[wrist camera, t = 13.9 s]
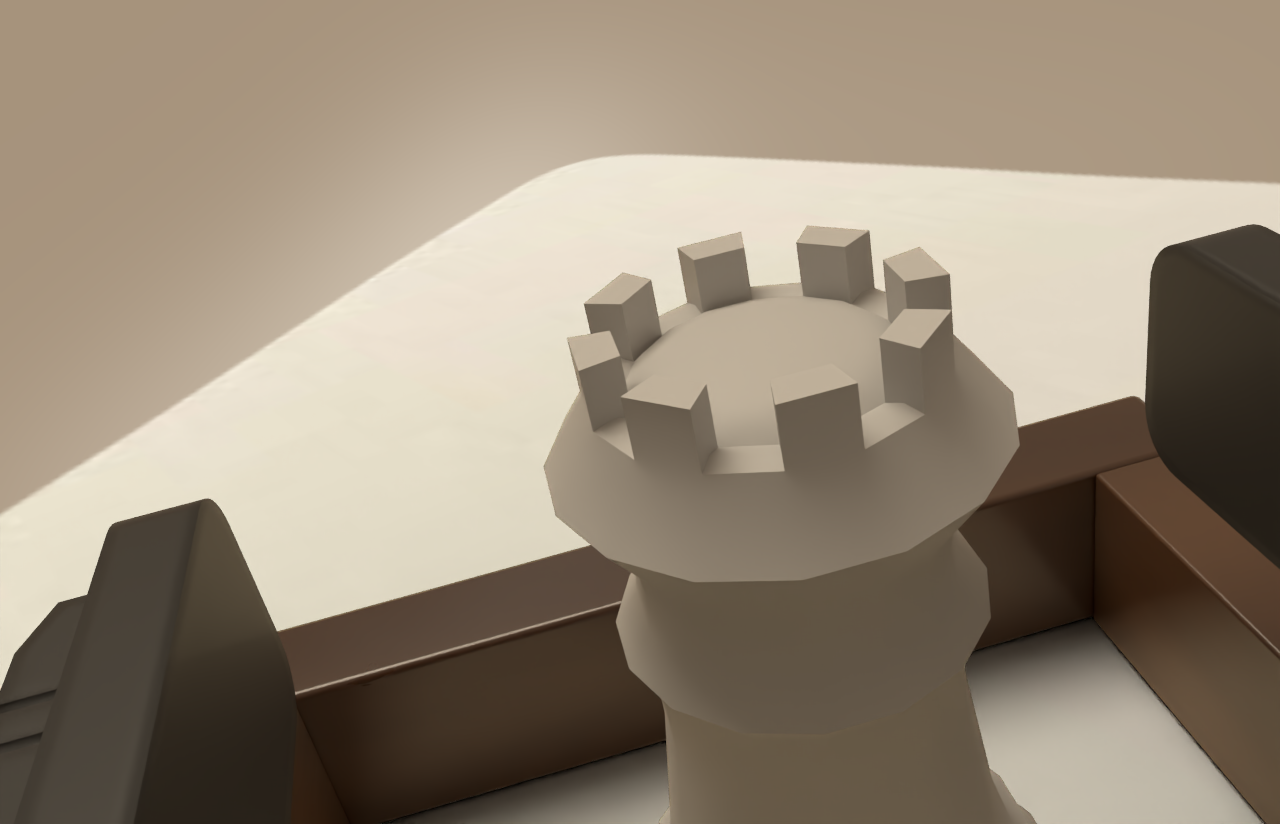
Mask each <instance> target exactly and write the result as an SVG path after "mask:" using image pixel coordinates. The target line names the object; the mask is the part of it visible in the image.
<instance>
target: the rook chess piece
mask: <svg viewBox="0 0 1280 824" xmlns="http://www.w3.org/2000/svg"><path fill="white" fill-rule="evenodd" d="M796 244H797V252H798V260H799V267H800V275H801V283H791V284H779V285H766V286H754V287H750V284H749V277H748V270H747V264H746V257H745V250H744V245H743V240H742V234H741V232H738V233H735V234H731V235H727V236H723V237H719V238H715V239H711V240H707V241H703V242H699V243H695V244H691V245H687V246H683V247H679V248H678V254H679V259H680V265H681V270H682V276H683V281H684V287H685V292H686V298H687V303H686V304H684V305H682V306H680V307H678V308H676V309H673V310H671V311H669V312H667V313H665V314H663V315H661V316H659V317H658V313H657V308H656V303H655V298H654V292H653V287H652V282H651V280H650V279H646V278H642V277H638V276H634V275H630V274H626V273H622V274H621V275H619V276H618V277H617V278H616V279H614V280H613V281H612V282H610V283H609V284H608V285H607V286H605V287H604V288H603V289H602V290H600V291H599V292H598V293H597V294H595V295H594V296H593V297H592V298H590V299H589V300H588V301H587V302H585V303H584V306H585V310H586V315H587V319H588V323H589V328H590V332H591V334H587V335H581V336H575V337H569V338H567V340H568V344H569V348H570V352H571V356H572V360H573V364H574V368H575V372H576V377H577V381H578V385H579V389H580V392H579V394H578V395H577V397H576V399H575V401H574V403H573V404H572V406H571V408H570V410H569V412H568V413H567V415H566V417H565V419H564V421H563V424H562V426H561V428H560V430H559V433H558V435H557V437H556V440H555V442H554V444H553V446H552V449H551V451H550V453H549V455H548V458H547V460H546V462H545V464H544V470H545V474H546V478H547V482H548V486H549V490H550V494H551V498H552V502H553V506H554V510H555V515H556V517H558V518H559V519H560V520H561V521H563V522H564V523H565V524H566V525H567V526H569V527H570V528H571V529H572V530H573V531H575V532H576V533H577V534H578V535H580V536H581V537H582V538H583V539H584V540H586V541H587V542H588V543H589V544H591V545H592V546H593V547H594V548H595V549H597V550H598V551H599V552H600V553H601V554H603V555H604V556H605V557H606V558H608V559H609V560H611V561H613V562H614V563H616V564H618V565H619V566H621V567H623V568H624V569H626V570H628V571H629V572H631V574H630V576H629V579H628V582H627V586H626V589H625V592H624V596H623V599H622V602H621V606H620V609H619V612H618V616H617V619H616V624H617V628H618V631H619V635H620V638H621V642H622V645H623V649H624V652H625V656H626V659H627V663H628V666H629V669H630V670H631V671H632V672H633V673H634V674H635V675H636V676H637V677H638V678H640V679H641V680H642V681H643V682H644V683H645V684H646V685H647V686H648V687H649V688H650V689H651V690H652V691H654V692H655V693H656V694H657V695H658V696H659V697H660V698H661V699H662V703H663V708H664V712H665V727H666V746H667V765H668V784H669V802H670V806H669V808H668V809H667V810H666V812H665V813H664V815H663V816H662V817H661V819H660V821H659V824H1037V823H1036V822H1035V820H1034V818H1033V817H1032V815H1031V814H1030V813H1029V812H1028V811H1026V810H1025V809H1024V808H1022V807H1021V806H1020V805H1018V804H1017V803H1016V802H1015V800H1014V798H1013V797H1012V795H1011V793H1010V792H1009V790H1008V789H1007V787H1006V785H1005V784H1004V782H1003V780H1002V779H1001V777H1000V776H999V775H998V774H996V773H995V772H993V771H992V770H991V769H989V765H988V761H987V757H986V753H985V749H984V745H983V741H982V737H981V733H980V729H979V725H978V721H977V717H976V713H975V709H974V705H973V701H972V697H971V693H970V689H969V685H968V681H967V677H966V673H965V664H966V662H967V660H968V659H969V657H970V655H971V653H972V651H973V649H974V648H975V646H976V644H977V642H978V640H979V639H980V637H981V635H982V633H983V631H984V630H985V628H986V626H987V624H988V622H989V621H990V619H991V613H990V600H989V588H988V575H987V567H986V566H985V565H984V563H983V562H982V561H981V559H980V558H979V557H978V556H977V554H976V553H975V552H974V550H973V549H972V548H971V546H970V545H969V544H968V542H967V541H966V540H965V538H964V537H963V536H962V534H961V533H960V532H959V530H958V529H959V528H960V527H961V526H962V524H963V523H964V522H965V521H966V520H967V519H968V518H969V517H970V516H971V515H972V514H973V513H974V512H975V511H976V510H977V509H978V508H979V507H980V506H981V505H982V504H983V503H984V502H985V500H986V498H987V497H988V495H989V494H990V492H991V490H992V489H993V487H994V486H995V484H996V482H997V481H998V479H999V478H1000V476H1001V474H1002V473H1003V471H1004V470H1005V468H1006V466H1007V465H1008V463H1009V462H1010V460H1011V458H1012V457H1013V455H1014V453H1015V452H1016V450H1017V449H1018V447H1019V445H1020V443H1019V435H1018V428H1017V420H1016V412H1015V405H1014V397H1013V392H1012V391H1011V390H1010V389H1009V388H1008V387H1007V386H1006V385H1005V384H1004V383H1003V382H1002V381H1001V380H1000V379H999V378H998V377H997V376H996V375H995V374H994V373H993V372H992V371H991V370H990V369H989V368H988V367H987V366H986V365H985V364H984V363H983V362H982V361H981V360H980V359H979V358H978V357H977V356H976V355H975V354H974V353H973V352H972V351H971V350H970V349H968V348H967V347H966V346H965V345H964V344H963V343H962V342H961V341H960V340H959V339H958V338H957V337H956V336H955V335H954V334H953V323H952V305H951V287H950V274H949V273H948V272H947V271H946V270H945V269H944V268H942V267H941V266H940V265H939V264H938V263H937V262H936V261H935V260H934V259H932V258H931V257H930V256H929V255H928V254H927V253H926V252H925V251H924V250H922V249H921V248H920V247H918V248H915V249H912V250H910V251H907V252H904V253H901V254H899V255H896V256H893V257H890V258H888V259H885V260H883V265H884V277H885V288H886V292H884V291H881V290H878V289H876V288H874V277H873V266H872V256H871V245H870V234H869V230H856V229H843V228H831V227H818V226H807V227H806V228H805V230H804V231H803V233H802V235H801V236H800V238H799V239H798V241H797V242H796Z"/></svg>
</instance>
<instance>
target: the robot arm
mask: <svg viewBox="0 0 1280 824" xmlns="http://www.w3.org/2000/svg"><path fill="white" fill-rule="evenodd" d="M1145 412H1146V420H1147V425H1148V429H1149V433H1150V436H1151V439H1152V441H1153V444H1154V446H1155V449H1156V451H1157V453H1158V455H1159V456H1160V458H1161V460H1162V461H1163V463H1164V464H1165V466H1166V467H1167V468H1168V470H1169V471H1170V472H1171V473H1172V474H1173V475H1174V476H1175V477H1176V478H1177V479H1178V480H1180V481H1181V482H1182V483H1183V484H1184V485H1185V486H1186V487H1187V488H1189V489H1190V490H1191V491H1192V492H1193V493H1194V494H1195V495H1196V496H1198V497H1199V498H1200V499H1201V500H1202V501H1203V502H1204V503H1205V504H1207V505H1208V506H1209V507H1210V508H1211V509H1212V510H1213V511H1214V512H1216V513H1217V514H1218V515H1219V516H1220V517H1221V518H1222V519H1223V520H1225V521H1226V522H1227V523H1228V524H1229V525H1230V526H1231V527H1232V528H1234V529H1235V530H1236V531H1237V532H1238V533H1239V534H1240V535H1241V536H1243V537H1244V538H1245V539H1246V540H1247V541H1248V542H1249V543H1250V544H1252V545H1253V546H1254V547H1255V548H1256V549H1257V550H1258V551H1259V552H1261V553H1262V554H1263V555H1264V556H1265V557H1266V558H1267V559H1268V560H1270V561H1271V562H1272V563H1273V564H1274V565H1275V566H1276V567H1277V568H1279V569H1280V234H1278V233H1276V232H1274V231H1272V230H1270V229H1268V228H1266V227H1263V226H1261V225H1254V224H1253V225H1246V226H1242V227H1238V228H1235V229H1231V230H1227V231H1223V232H1220V233H1216V234H1212V235H1208V236H1205V237H1201V238H1197V239H1193V240H1189V241H1186V242H1182V243H1178V244H1174V245H1171V246H1168V247H1166V248H1164V249H1163V250H1162V251H1161V252H1160V253H1159V254H1158V256H1157V257H1156V259H1155V261H1154V264H1153V267H1152V271H1151V278H1150V297H1149V321H1148V345H1147V370H1146V394H1145ZM296 726H297V705H296V696H295V689H294V684H293V679H292V674H291V670H290V666H289V662H288V659H287V656H286V653H285V650H284V647H283V645H282V642H281V640H280V637H279V635H278V633H277V631H276V628H275V626H274V624H273V622H272V619H271V617H270V615H269V613H268V610H267V608H266V606H265V604H264V602H263V599H262V597H261V595H260V593H259V590H258V588H257V586H256V584H255V581H254V579H253V577H252V575H251V572H250V570H249V568H248V566H247V563H246V561H245V559H244V557H243V555H242V552H241V550H240V548H239V546H238V543H237V541H236V539H235V537H234V534H233V532H232V530H231V528H230V525H229V523H228V521H227V519H226V517H225V516H224V514H223V512H222V510H221V509H220V508H219V506H218V505H217V504H216V503H215V502H214V501H213V500H211V499H203V500H199V501H195V502H192V503H188V504H184V505H180V506H176V507H173V508H169V509H165V510H161V511H158V512H154V513H150V514H146V515H142V516H139V517H135V518H131V519H127V520H124V521H120V522H116V523H114V524H112V526H111V527H110V528H109V530H108V532H107V535H106V538H105V541H104V544H103V547H102V550H101V553H100V556H99V560H98V563H97V566H96V569H95V572H94V575H93V578H92V581H91V585H90V588H89V591H88V594H87V595H85V596H81V597H77V598H74V599H70V600H66V601H63V602H59V603H58V604H57V605H56V606H55V607H54V608H53V610H52V611H51V612H50V613H49V614H48V615H47V617H46V618H45V619H44V620H43V621H42V622H41V624H40V625H39V626H38V627H37V628H36V629H35V631H34V632H33V633H32V634H31V635H30V636H29V638H28V639H27V640H26V641H25V642H24V643H23V645H22V646H21V647H20V648H19V649H18V650H17V652H16V653H15V654H14V656H13V659H12V662H11V664H10V667H9V669H8V672H7V675H6V677H5V680H4V683H3V685H2V688H1V690H0V824H290V821H291V805H292V790H293V774H294V758H295V742H296Z"/></svg>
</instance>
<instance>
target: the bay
mask: <svg viewBox="0 0 1280 824" xmlns="http://www.w3.org/2000/svg"><path fill="white" fill-rule="evenodd" d="M1017 428H1018V435H1019V443H1020V445H1019V447H1018V449H1017V450H1016V452H1015V453H1014V455H1013V457H1012V458H1011V460H1010V462H1009V463H1008V465H1007V466H1006V468H1005V470H1004V471H1003V473H1002V474H1001V476H1000V478H999V479H998V481H997V482H996V484H995V486H994V487H993V489H992V490H991V492H990V494H989V495H988V497H987V498H986V500H985V502H984V503H983V504H982V505H981V506H980V507H979V508H978V509H977V510H976V511H975V512H974V513H973V514H972V515H971V516H970V517H969V518H968V519H967V520H966V521H965V522H964V523H963V524H962V526H961V527H960V528H959V529H958V530H959V532H960V533H961V534H962V536H963V537H964V538H965V540H966V541H967V542H968V544H969V545H970V546H971V548H972V549H973V550H974V552H975V553H976V554H977V556H978V557H979V558H980V559H981V561H982V562H983V563H984V565H985V566H986V567H987V575H988V588H989V600H990V613H991V619H990V621H989V622H988V624H987V626H986V628H985V630H984V631H983V633H982V635H981V637H980V639H979V640H978V642H977V644H976V646H975V648H974V649H973V651H974V650H978V649H981V648H984V647H988V646H991V645H995V644H998V643H1002V642H1005V641H1008V640H1012V639H1015V638H1019V637H1022V636H1026V635H1029V634H1033V633H1036V632H1039V631H1043V630H1046V629H1050V628H1053V627H1057V626H1060V625H1063V624H1067V623H1070V622H1074V621H1077V620H1081V619H1084V618H1088V617H1091V616H1094V619H1095V621H1096V622H1097V623H1098V625H1099V626H1100V627H1101V628H1102V629H1103V630H1104V632H1105V633H1106V634H1107V635H1108V636H1109V638H1110V639H1111V640H1112V641H1113V642H1114V644H1115V645H1116V646H1117V647H1118V648H1119V649H1120V651H1121V652H1122V653H1123V654H1124V655H1125V657H1126V658H1127V659H1128V660H1129V661H1130V663H1131V664H1132V665H1133V666H1134V667H1135V668H1136V670H1137V671H1138V672H1139V673H1140V674H1141V676H1142V677H1143V678H1144V679H1145V680H1146V682H1147V683H1148V684H1149V685H1150V686H1151V687H1152V689H1153V690H1154V691H1155V692H1156V693H1157V695H1158V696H1159V697H1160V698H1161V699H1162V701H1163V702H1164V703H1165V704H1166V705H1167V706H1168V708H1169V709H1170V710H1171V711H1172V712H1173V714H1174V715H1175V716H1176V717H1177V718H1178V720H1179V721H1180V722H1181V723H1182V724H1183V725H1184V727H1185V728H1186V729H1187V730H1188V731H1189V733H1190V734H1191V735H1192V736H1193V737H1194V739H1195V740H1196V741H1197V742H1198V743H1199V744H1200V746H1201V747H1202V748H1203V749H1204V750H1205V752H1206V753H1207V754H1208V755H1209V756H1210V758H1211V759H1212V760H1213V761H1214V762H1215V763H1216V765H1217V766H1218V767H1219V768H1220V769H1221V771H1222V772H1223V773H1224V774H1225V775H1226V777H1227V778H1228V779H1229V780H1230V781H1231V782H1232V784H1233V785H1234V786H1235V787H1236V788H1237V790H1238V791H1239V792H1240V793H1241V794H1242V796H1243V797H1244V798H1245V799H1246V800H1247V801H1248V803H1249V804H1250V805H1251V806H1252V807H1253V809H1254V810H1255V811H1256V812H1257V813H1258V815H1259V816H1260V817H1261V818H1262V819H1263V820H1264V822H1265V823H1266V824H1280V569H1279V568H1277V567H1276V566H1275V565H1274V564H1273V563H1272V562H1271V561H1270V560H1268V559H1267V558H1266V557H1265V556H1264V555H1263V554H1262V553H1261V552H1259V551H1258V550H1257V549H1256V548H1255V547H1254V546H1253V545H1252V544H1250V543H1249V542H1248V541H1247V540H1246V539H1245V538H1244V537H1243V536H1241V535H1240V534H1239V533H1238V532H1237V531H1236V530H1235V529H1234V528H1232V527H1231V526H1230V525H1229V524H1228V523H1227V522H1226V521H1225V520H1223V519H1222V518H1221V517H1220V516H1219V515H1218V514H1217V513H1216V512H1214V511H1213V510H1212V509H1211V508H1210V507H1209V506H1208V505H1207V504H1205V503H1204V502H1203V501H1202V500H1201V499H1200V498H1199V497H1198V496H1196V495H1195V494H1194V493H1193V492H1192V491H1191V490H1190V489H1189V488H1187V487H1186V486H1185V485H1184V484H1183V483H1182V482H1181V481H1180V480H1178V479H1177V478H1176V477H1175V476H1174V475H1173V474H1172V473H1171V472H1170V471H1169V470H1168V468H1167V467H1166V466H1165V464H1164V463H1163V461H1162V460H1161V458H1160V456H1159V455H1158V453H1157V451H1156V449H1155V446H1154V444H1153V441H1152V439H1151V436H1150V433H1149V429H1148V425H1147V420H1146V412H1145V402H1144V401H1142V400H1141V399H1140V398H1139V397H1136V396H1130V397H1126V398H1122V399H1119V400H1115V401H1112V402H1108V403H1104V404H1101V405H1097V406H1093V407H1090V408H1086V409H1083V410H1079V411H1075V412H1072V413H1068V414H1064V415H1061V416H1057V417H1054V418H1050V419H1046V420H1043V421H1039V422H1035V423H1032V424H1028V425H1024V426H1021V427H1017ZM630 574H631V572H629V571H628V570H626V569H624V568H623V567H621V566H619V565H618V564H616V563H614V562H613V561H611V560H609V559H608V558H606V557H605V556H604V555H603V554H601V553H600V552H599V551H598V550H597V549H595V548H594V547H593V546H592V545H589V546H586V547H582V548H578V549H575V550H571V551H567V552H564V553H560V554H557V555H553V556H549V557H546V558H542V559H538V560H535V561H531V562H527V563H524V564H520V565H517V566H513V567H509V568H506V569H502V570H498V571H495V572H491V573H488V574H484V575H480V576H477V577H473V578H469V579H466V580H462V581H459V582H455V583H451V584H448V585H444V586H440V587H437V588H433V589H430V590H426V591H422V592H419V593H415V594H411V595H408V596H404V597H401V598H397V599H393V600H390V601H386V602H382V603H379V604H375V605H372V606H368V607H364V608H361V609H357V610H353V611H350V612H346V613H342V614H339V615H335V616H332V617H328V618H324V619H321V620H317V621H313V622H310V623H306V624H303V625H299V626H295V627H292V628H288V629H284V630H281V631H277V633H278V635H279V637H280V640H281V642H282V645H283V647H284V650H285V653H286V656H287V659H288V662H289V666H290V670H291V674H292V679H293V684H294V689H295V696H296V705H297V726H296V742H295V758H294V774H293V790H292V805H291V821H290V824H379V823H383V822H386V821H390V820H393V819H397V818H400V817H404V816H407V815H410V814H414V813H417V812H421V811H424V810H428V809H431V808H434V807H438V806H441V805H445V804H448V803H452V802H455V801H459V800H462V799H465V798H469V797H472V796H476V795H479V794H483V793H486V792H489V791H493V790H496V789H500V788H503V787H507V786H510V785H514V784H517V783H520V782H524V781H527V780H531V779H534V778H538V777H541V776H544V775H548V774H551V773H555V772H558V771H562V770H565V769H569V768H572V767H575V766H579V765H582V764H586V763H589V762H593V761H596V760H599V759H603V758H606V757H610V756H613V755H617V754H620V753H624V752H627V751H630V750H634V749H637V748H641V747H644V746H648V745H651V744H654V743H658V742H661V741H665V740H666V727H665V712H664V708H663V703H662V699H661V698H660V697H659V696H658V695H657V694H656V693H655V692H654V691H652V690H651V689H650V688H649V687H648V686H647V685H646V684H645V683H644V682H643V681H642V680H641V679H640V678H638V677H637V676H636V675H635V674H634V673H633V672H632V671H631V670H630V669H629V666H628V663H627V659H626V656H625V652H624V649H623V645H622V642H621V638H620V635H619V631H618V628H617V624H616V619H617V616H618V612H619V609H620V606H621V602H622V599H623V596H624V592H625V589H626V586H627V582H628V579H629V576H630Z"/></svg>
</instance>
